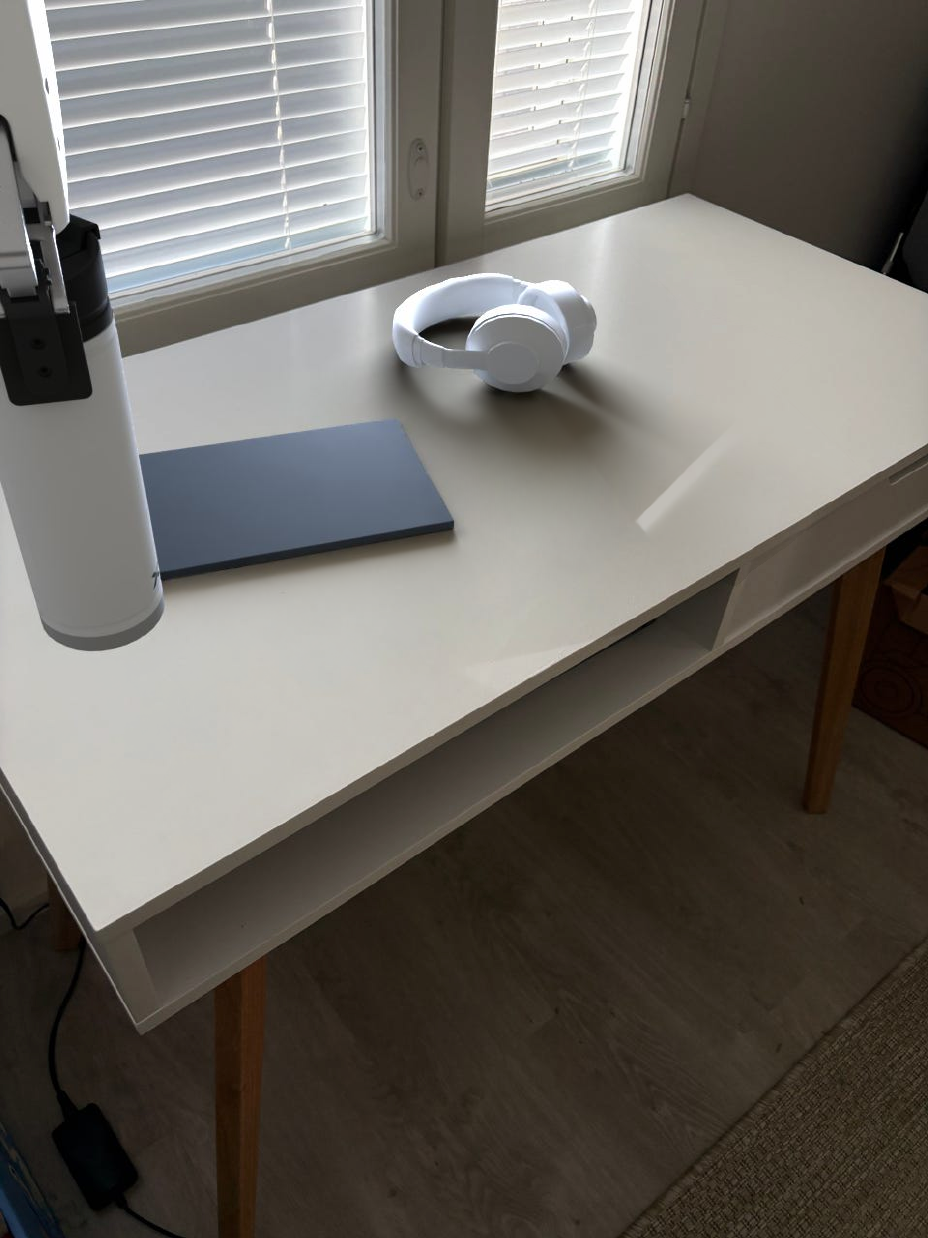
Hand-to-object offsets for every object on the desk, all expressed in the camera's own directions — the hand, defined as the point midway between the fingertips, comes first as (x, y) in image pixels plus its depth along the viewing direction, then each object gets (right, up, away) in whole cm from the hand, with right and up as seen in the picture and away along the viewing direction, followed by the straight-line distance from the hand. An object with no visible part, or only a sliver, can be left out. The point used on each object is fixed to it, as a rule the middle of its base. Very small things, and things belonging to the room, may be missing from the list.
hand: (47, 353), depth 44 cm
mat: (+1, -2, +40) cm, 40 cm away
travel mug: (-1, -11, +10) cm, 15 cm away
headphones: (+21, +15, +60) cm, 65 cm away
